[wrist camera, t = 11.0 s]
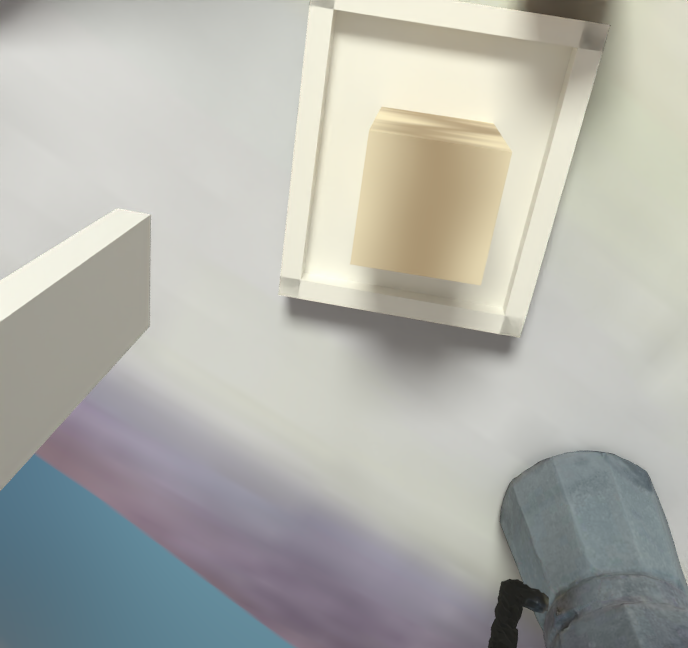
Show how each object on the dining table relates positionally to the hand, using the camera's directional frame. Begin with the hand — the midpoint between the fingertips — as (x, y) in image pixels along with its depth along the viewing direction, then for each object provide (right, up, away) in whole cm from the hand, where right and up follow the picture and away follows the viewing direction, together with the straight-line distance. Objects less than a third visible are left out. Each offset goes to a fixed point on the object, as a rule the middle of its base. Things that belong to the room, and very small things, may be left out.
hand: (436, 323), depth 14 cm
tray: (+2, +7, +17) cm, 18 cm away
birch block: (+2, +7, +16) cm, 17 cm away
